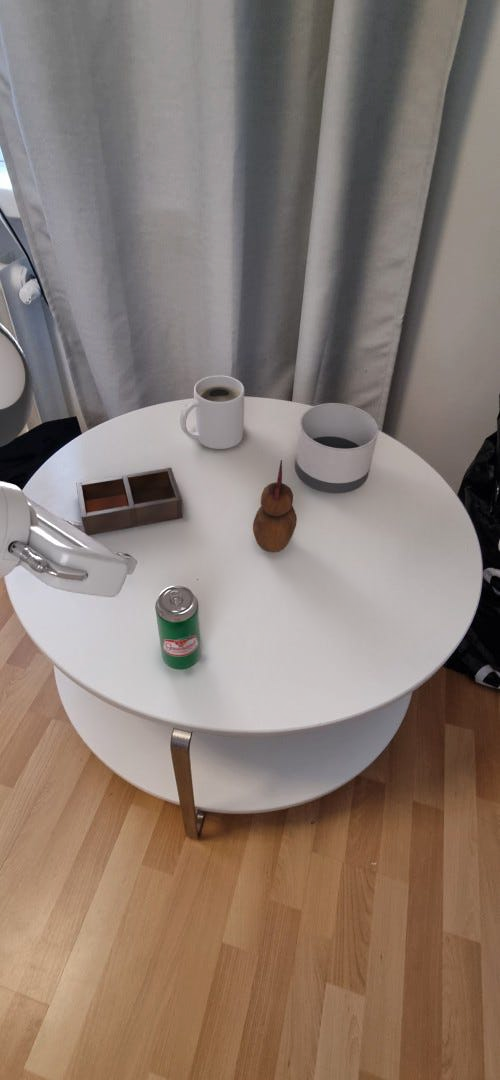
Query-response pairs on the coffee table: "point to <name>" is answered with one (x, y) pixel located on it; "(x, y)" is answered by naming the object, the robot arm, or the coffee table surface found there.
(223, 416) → the mug
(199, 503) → the coffee table surface
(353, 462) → the planter
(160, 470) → the holder
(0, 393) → the robot arm
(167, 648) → the soda can
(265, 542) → the wooden figurine
